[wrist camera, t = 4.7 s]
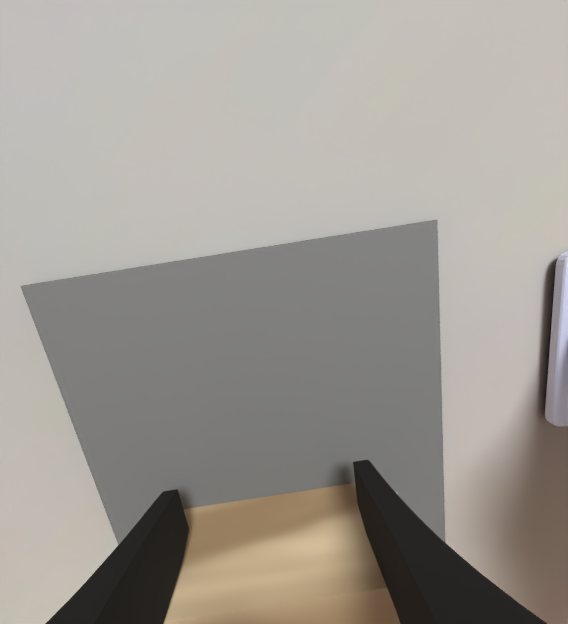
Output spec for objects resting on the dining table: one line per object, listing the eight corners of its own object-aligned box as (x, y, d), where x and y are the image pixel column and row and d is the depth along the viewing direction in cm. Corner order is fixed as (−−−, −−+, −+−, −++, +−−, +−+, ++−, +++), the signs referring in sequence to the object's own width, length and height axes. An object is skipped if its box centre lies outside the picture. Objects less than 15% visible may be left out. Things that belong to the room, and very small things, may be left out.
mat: (429, 221, 11) (437, 219, 10) (442, 638, 16) (448, 651, 15) (32, 284, 11) (20, 286, 10) (177, 680, 16) (174, 694, 15)
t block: (167, 511, 13) (118, 629, 9) (375, 479, 13) (421, 582, 9) (207, 643, 14) (182, 786, 11) (387, 614, 14) (429, 748, 11)
